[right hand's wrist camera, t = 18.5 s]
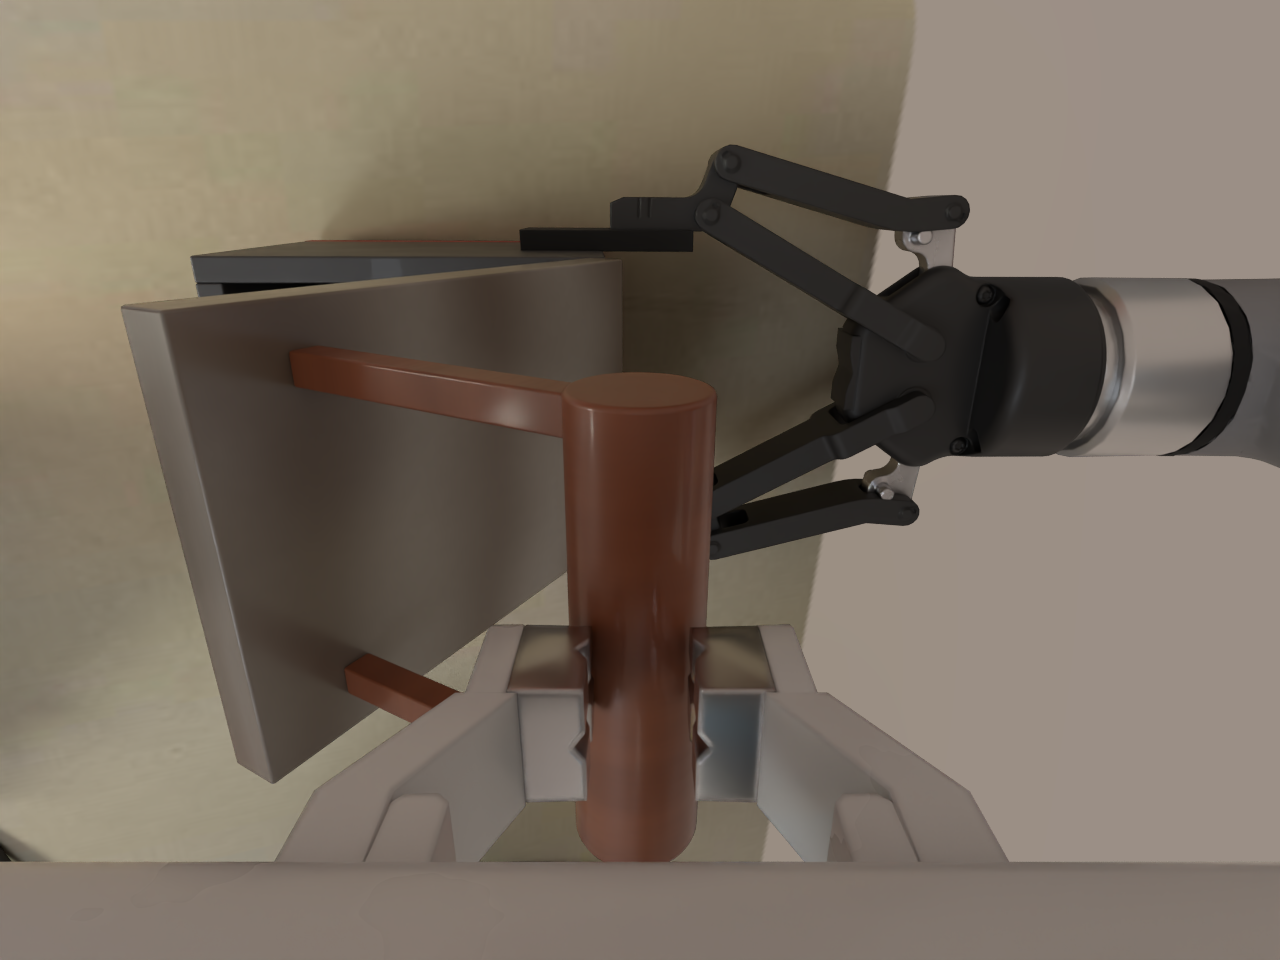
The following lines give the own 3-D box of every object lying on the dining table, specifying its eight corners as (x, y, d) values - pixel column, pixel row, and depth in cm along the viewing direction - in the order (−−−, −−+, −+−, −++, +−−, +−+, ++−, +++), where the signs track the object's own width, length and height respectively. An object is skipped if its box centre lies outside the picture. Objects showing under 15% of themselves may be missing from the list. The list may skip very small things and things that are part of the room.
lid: (235, 763, 15) (621, 997, 11) (117, 305, 11) (618, 371, 7) (594, 523, 26) (851, 589, 22) (590, 257, 23) (893, 272, 19)
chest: (342, 437, 36) (247, 528, 26) (312, 240, 32) (188, 255, 22) (602, 433, 37) (608, 520, 27) (599, 241, 33) (606, 256, 23)
